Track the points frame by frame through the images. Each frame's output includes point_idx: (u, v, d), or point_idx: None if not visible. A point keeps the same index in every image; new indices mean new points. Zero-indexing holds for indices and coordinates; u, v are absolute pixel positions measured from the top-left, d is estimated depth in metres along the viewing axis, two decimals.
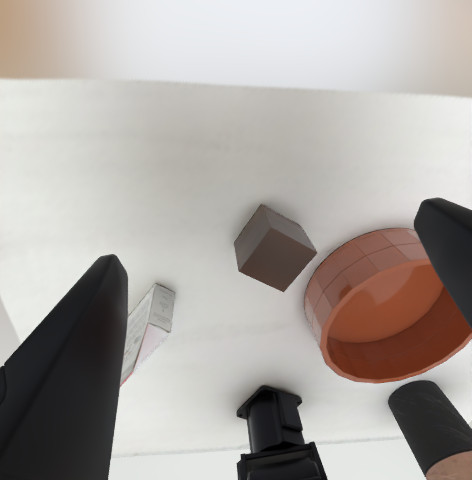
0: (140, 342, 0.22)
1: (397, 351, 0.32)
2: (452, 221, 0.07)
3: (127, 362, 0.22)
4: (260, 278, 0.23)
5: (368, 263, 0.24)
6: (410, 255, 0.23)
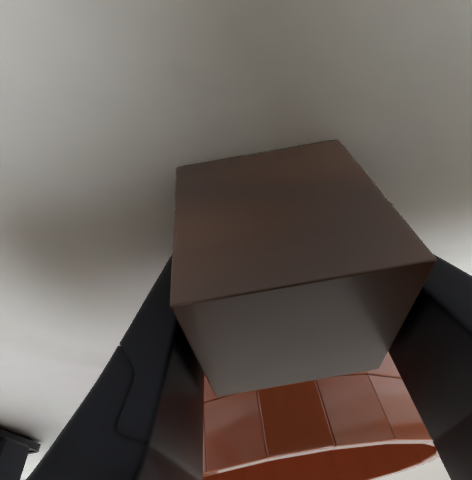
0: None
1: None
2: None
3: None
4: (205, 354, 0.06)
5: (373, 398, 0.12)
6: None
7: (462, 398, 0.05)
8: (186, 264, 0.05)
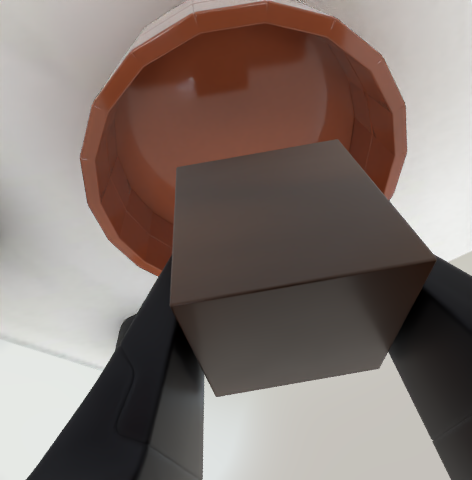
0: None
1: None
2: None
3: None
4: (205, 354, 0.06)
5: (317, 10, 0.11)
6: None
7: (462, 398, 0.05)
8: (186, 264, 0.05)
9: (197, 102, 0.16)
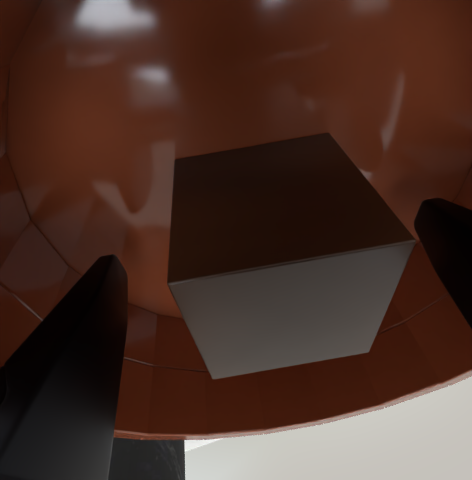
0: None
1: (183, 360, 0.12)
2: (452, 221, 0.07)
3: None
4: (201, 334, 0.06)
5: None
6: None
7: None
8: (182, 247, 0.06)
9: (178, 116, 0.07)
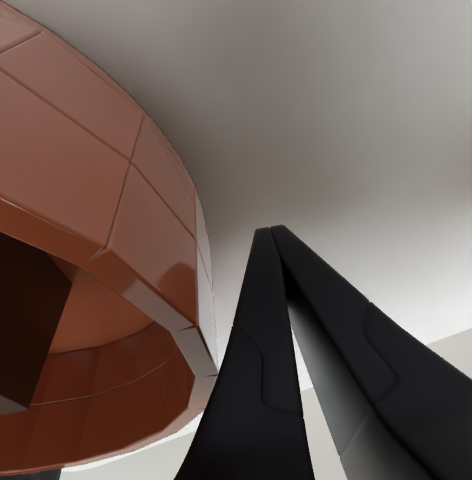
0: None
1: None
2: (277, 251, 0.07)
3: None
4: None
5: None
6: None
7: (346, 418, 0.05)
8: None
9: None
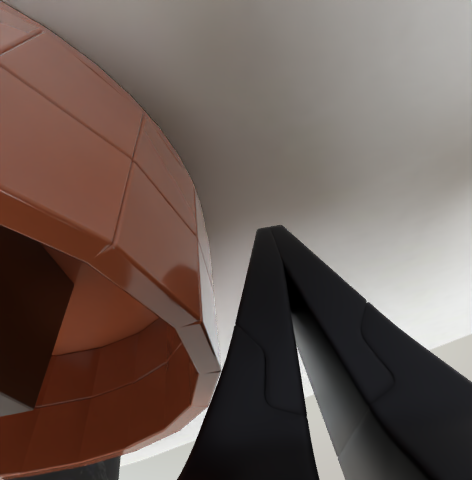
0: None
1: None
2: (276, 252, 0.07)
3: None
4: None
5: None
6: None
7: (344, 419, 0.05)
8: None
9: None
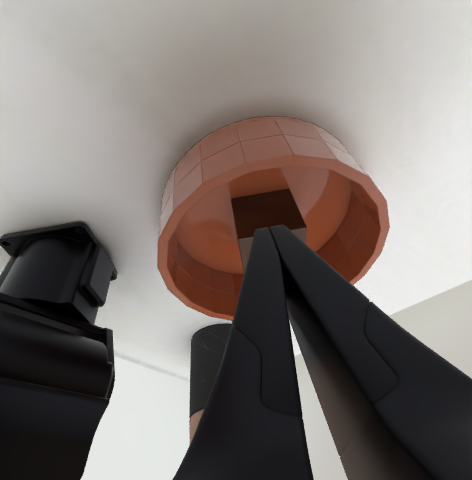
0: None
1: (224, 288, 0.26)
2: (278, 251, 0.07)
3: None
4: (244, 258, 0.20)
5: (324, 146, 0.16)
6: None
7: (347, 418, 0.05)
8: (240, 229, 0.19)
9: (233, 185, 0.21)
